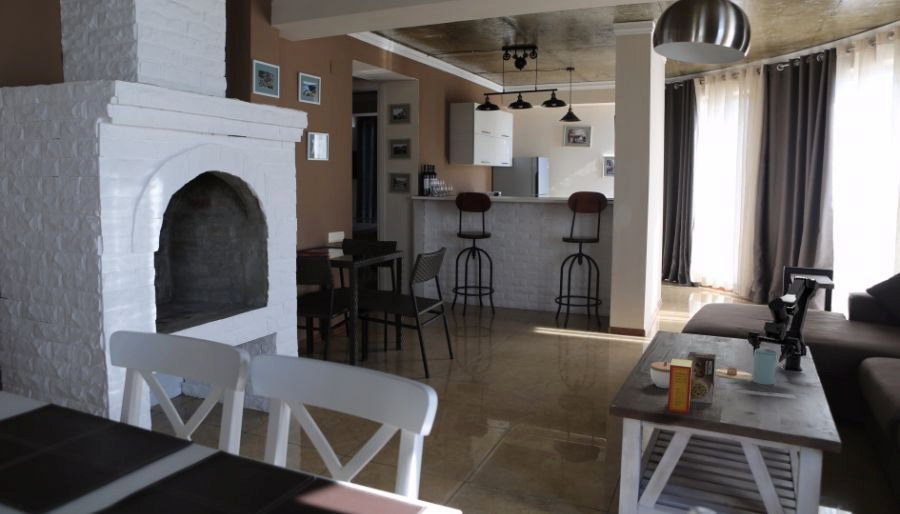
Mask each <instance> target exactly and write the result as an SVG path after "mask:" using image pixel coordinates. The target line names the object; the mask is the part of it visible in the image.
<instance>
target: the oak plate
mask: <svg viewBox="0 0 900 514" xmlns="http://www.w3.org/2000/svg"><path fill="white" fill-rule="evenodd" d="M716 376H717V377H720V378H723V379H730V380H737V381H738V380H739V381H740V380H743V381H744V380H750V379H753V374H751V373H749V372H747V371H744V370H739V369H737V375H729V374H727V368H717V369H716V368H715V377H716Z"/></svg>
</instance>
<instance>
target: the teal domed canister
mask: <svg viewBox="0 0 900 514" xmlns="http://www.w3.org/2000/svg"><path fill="white" fill-rule="evenodd" d="M776 359H777V352H776V351H775V350H772V349H767V348H759V349H755V352H754V355H753V370H752V376H753V377H752V382H753V383H756V384H759V385H773V384H775V377H776V376H775V375H776V362H777V361H776Z"/></svg>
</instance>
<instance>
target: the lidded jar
mask: <svg viewBox="0 0 900 514" xmlns="http://www.w3.org/2000/svg"><path fill="white" fill-rule="evenodd" d="M670 364H671V362H668V361H667V360H664V361H656V362H651V363H650V378H651V380H652V382H653V383H654V384H655V387H658V388H662V389H669V378H670Z"/></svg>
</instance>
